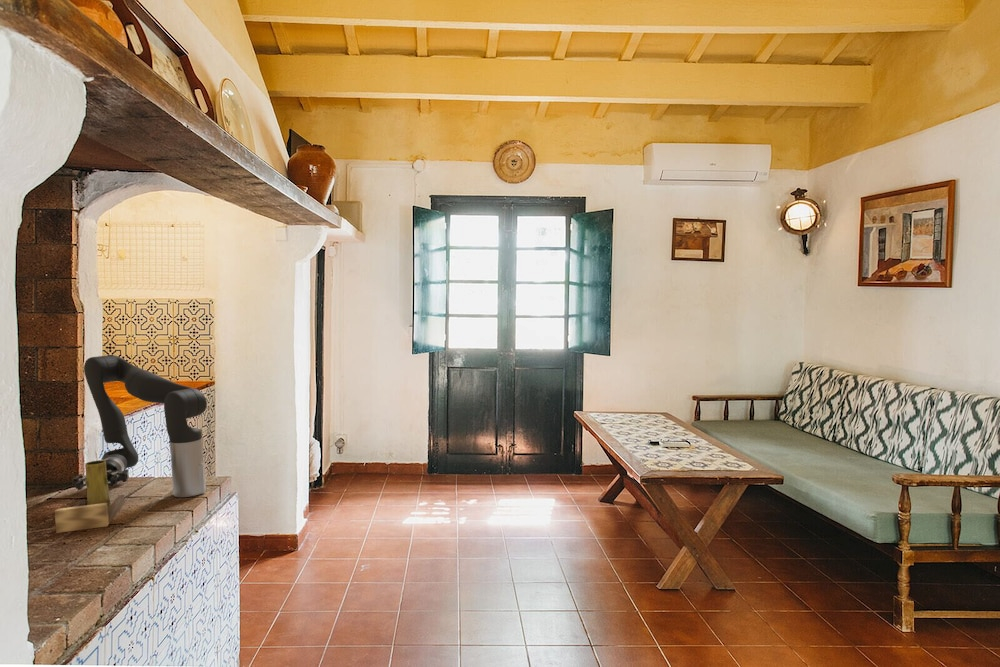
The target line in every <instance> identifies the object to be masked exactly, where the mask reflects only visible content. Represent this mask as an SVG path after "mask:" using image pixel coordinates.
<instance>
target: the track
mask: <svg viewBox="0 0 1000 667" xmlns="http://www.w3.org/2000/svg"><path fill="white" fill-rule="evenodd" d="M125 502H126V501H125V494H118V495H117V497H116V498H114V500H113V501H112V503H110V504H111V505H110V507H109V508H108V505H107V503H101V504H93V505H88V504H87V505H86V499H78V501H77V502H76V503H75V504H74V505H72V506H70V507H61V508H56V509H55V510H54V519H55V520H54V521H55V532H56V534H58V533H66V532H67V533H68V532H72V531H82V530H88V529H95V528H103V527H108V526H109V524H110V523H112V520H113V519H114V518H115V516H116V515H117V513H118V512H119V511H120V510H121V509H122V507H123V506H124V504H126V503H125Z"/></svg>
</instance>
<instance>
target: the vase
mask: <svg viewBox="0 0 1000 667" xmlns="http://www.w3.org/2000/svg"><path fill="white" fill-rule="evenodd" d="M84 468H85V475H86V480H87V486H86V496H87V497H86V500H87V505H93V504H101V503H107V505H108V508H109V507H110V505H111V504H112V503H111V500H110V499H111V498H110V493H109V492H110V490H109V486H108V480H107V469H106V461H104V460H103V459H101V460H98V459H97V460H92V461H88V462H86V463H84Z"/></svg>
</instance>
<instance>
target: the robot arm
mask: <svg viewBox="0 0 1000 667" xmlns="http://www.w3.org/2000/svg"><path fill="white" fill-rule="evenodd" d="M83 371H84V377H85V380H86V382H87V386H88V388H89V391H90V394H91V396H92V399H93V401H94V404H95V407H96V409H97V412H98V415H99V418H100V423H101V428H102V434H103V439H104V442H105V443H107V444H120V446H122V448H118V449H112V450H109V451H106V452H105V453H104V454H103V455H102V460H104V461H106V469H107V480H108V487H114V486H115V485H117V484H119V483H120V482H122V483H126V482H127V481H128V479H129V478H130V476H129V474H130V473H129V469H130V468H133V467H135V466H136V465H137V463H138V461H139V454H138V452H137V450H136V448H135V446H134V445H133V443H132V441H131V438H130V436H129V433H128V429H127V422H126V419H125V416H124V414H123V412H122V410H121V409H120V407H119V406H117V404H116V403H115V402H114V401H113V400H112V399H111V398H110V396H109V395H108V393H107V391H106V389H105V385H104V384H105V383H111V382H121V383H123V384H124V388H125V390H126V392H127V393H128V394H129V395H131V396H133V397H135V398H136V399H139V400H141V401H144V402H148V403H153V404H154V403H156V404H163V410H164V412H163V413H164V418H165V424H166V425H165V426H166V432H167V435H168V439H169V450H170V462H171V463H170V464H171V477H172V493H173V497H175V498H187V497H188V498H189V497H194V496H198V495H202V494H203V495H204V494H205V493H206V490H207V482H206V466H205V465H206V464H205V459H204V448H203V435H202V430H201V429H200V428H197V427H191V426H189V425H188V421H187V420H188V419H190V418H194V417H198V416H201V415H202V414H204V412H205V411H206V409H207V407H208V402H207V399H206V396H205V395H204V393H203V392H201V391H200V390H199V389H197V388H195V387H191V386H187V385H184V384H179V383H177V382H174V381H172V380H169V379H167V378H164V377H161V375H158V374H156V373H153V372H151V371H148V370H145V369H143V368H140V367H138V366H136V365H133V364H132V363H130V362H128V361H127V360H125V359H124V358H122V357H120V356H117V355H114V354H113V355H109V354H108V355H99V356H92V357H89V358H87V359H86V360H85V362H84V366H83ZM71 480H72V483H71V484H72V488H75V489H77V491H80V490H82V489H83V488H84V487H87V480H86V474H85V475H83V474H81V473H79V474H77V475H76V476H75V477H73V478H72V479H71Z"/></svg>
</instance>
